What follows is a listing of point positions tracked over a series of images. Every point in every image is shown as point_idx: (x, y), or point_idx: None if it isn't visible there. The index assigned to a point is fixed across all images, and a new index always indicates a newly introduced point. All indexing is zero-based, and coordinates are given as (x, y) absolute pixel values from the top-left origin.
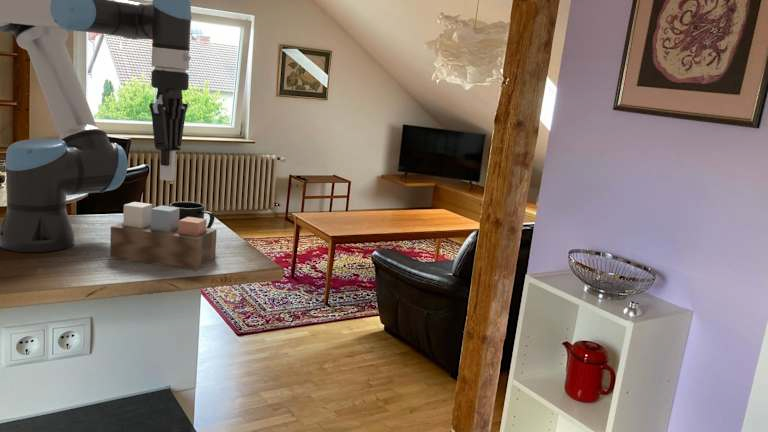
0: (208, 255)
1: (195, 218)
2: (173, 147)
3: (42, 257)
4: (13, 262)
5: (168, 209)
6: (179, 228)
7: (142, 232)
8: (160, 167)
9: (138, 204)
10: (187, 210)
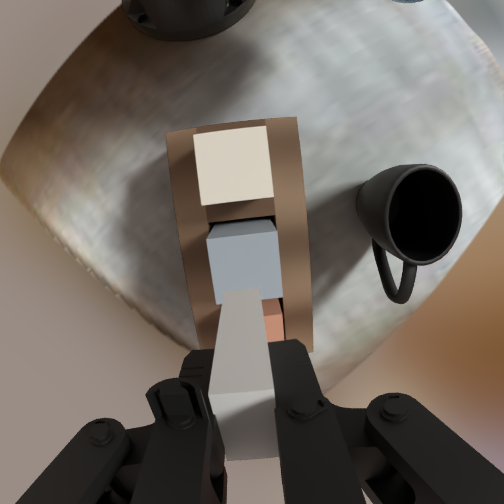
0: None
1: (274, 339)
2: (280, 465)
3: (121, 55)
4: (80, 52)
5: (236, 285)
6: None
7: (177, 226)
8: (220, 321)
9: (234, 164)
10: (387, 242)
